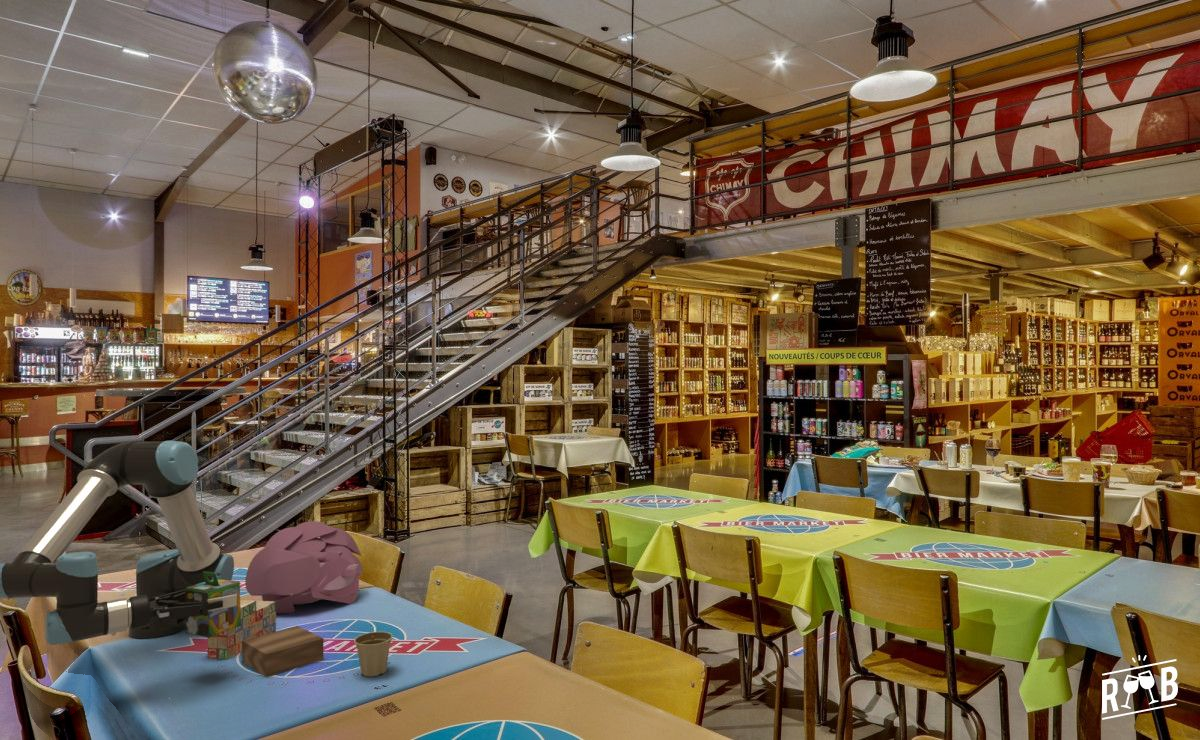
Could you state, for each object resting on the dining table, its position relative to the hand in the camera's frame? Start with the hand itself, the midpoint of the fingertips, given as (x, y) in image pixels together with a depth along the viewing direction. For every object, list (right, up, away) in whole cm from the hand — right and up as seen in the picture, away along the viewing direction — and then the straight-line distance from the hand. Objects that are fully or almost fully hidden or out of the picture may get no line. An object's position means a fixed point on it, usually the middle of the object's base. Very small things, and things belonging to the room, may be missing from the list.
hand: (229, 594), depth 182 cm
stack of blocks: (-6, -21, +19) cm, 29 cm away
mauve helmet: (-2, -21, +57) cm, 61 cm away
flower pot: (+37, -20, -1) cm, 42 cm away
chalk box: (-3, -8, -3) cm, 9 cm away
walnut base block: (+10, -20, +7) cm, 24 cm away
